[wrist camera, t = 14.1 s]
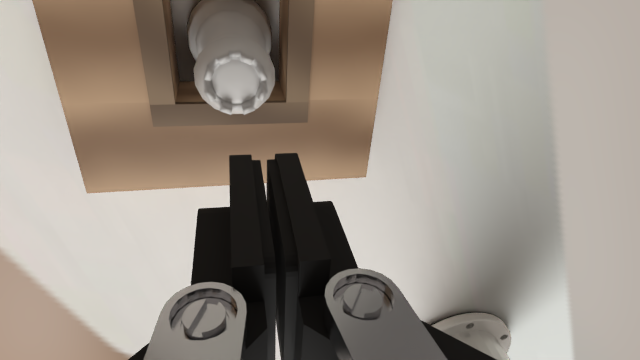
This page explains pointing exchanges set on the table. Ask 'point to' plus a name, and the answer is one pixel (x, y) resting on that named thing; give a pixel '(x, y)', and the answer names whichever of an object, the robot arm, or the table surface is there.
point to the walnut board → (195, 113)
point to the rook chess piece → (231, 54)
